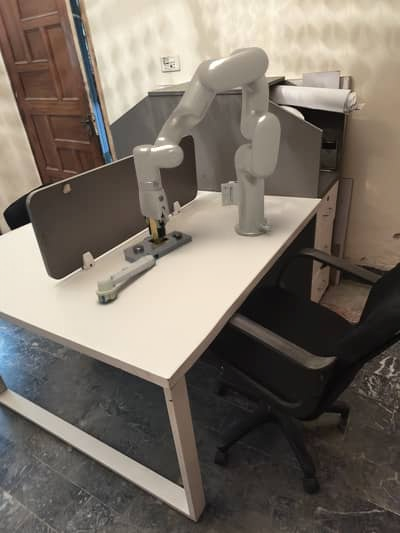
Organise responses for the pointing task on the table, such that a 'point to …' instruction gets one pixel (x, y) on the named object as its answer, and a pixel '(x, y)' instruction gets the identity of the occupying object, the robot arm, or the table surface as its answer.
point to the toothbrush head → (122, 277)
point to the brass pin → (155, 232)
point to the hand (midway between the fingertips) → (157, 235)
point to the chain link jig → (156, 246)
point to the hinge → (229, 193)
